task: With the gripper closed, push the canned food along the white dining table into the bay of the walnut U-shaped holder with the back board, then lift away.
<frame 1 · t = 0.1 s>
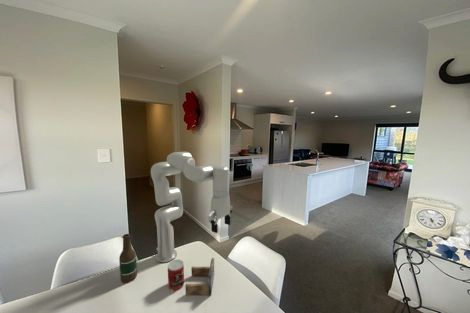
hand: (221, 227, 93), 31 cm above the table, tool pointing down, fingers open, 9 cm apart
beer bottle: (129, 278, 103), on the table
canned food: (176, 285, 98), on the table
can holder: (200, 284, 98), on the table
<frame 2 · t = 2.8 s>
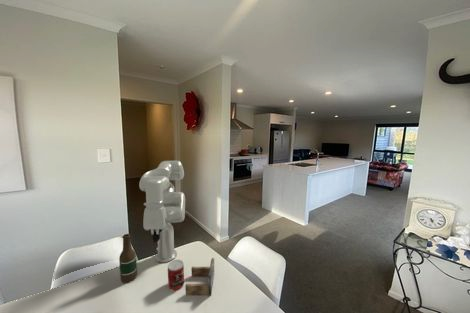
hand: (156, 241, 96), 23 cm above the table, tool pointing down, fingers closed
nothing on the table moved.
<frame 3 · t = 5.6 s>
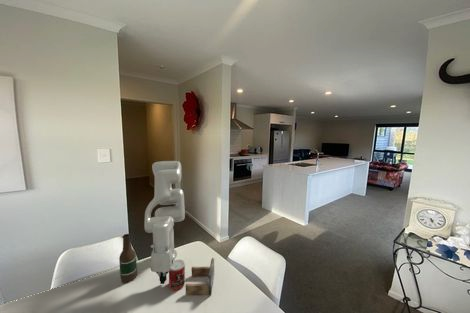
hand: (163, 281, 98), 2 cm above the table, tool pointing down, fingers closed
canned food: (177, 285, 98), on the table, touching gripper
everything else where it was.
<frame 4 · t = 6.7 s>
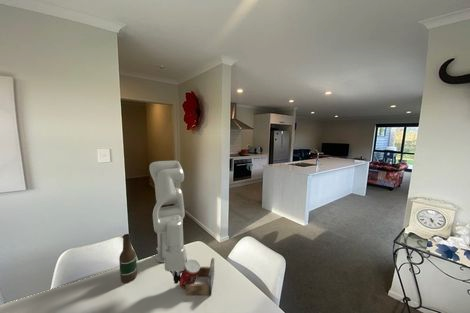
hand: (177, 281, 96), 3 cm above the table, tool pointing down, fingers closed
canned food: (186, 283, 97), point 1 cm above the table, touching gripper
everything else where it was.
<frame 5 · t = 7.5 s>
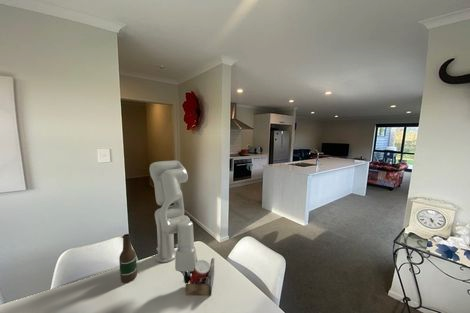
hand: (187, 281, 97), 3 cm above the table, tool pointing down, fingers closed
canned food: (196, 283, 97), point 1 cm above the table, touching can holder, gripper
everything else where it was.
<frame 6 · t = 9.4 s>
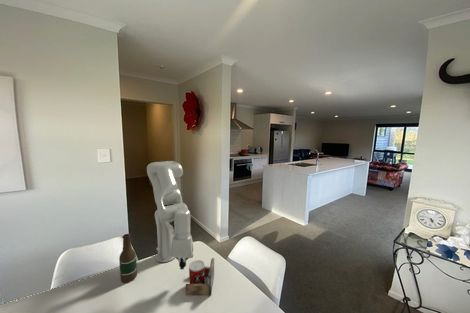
hand: (182, 267, 98), 9 cm above the table, tool pointing down, fingers closed
canned food: (197, 285, 98), on the table
everything else where it was.
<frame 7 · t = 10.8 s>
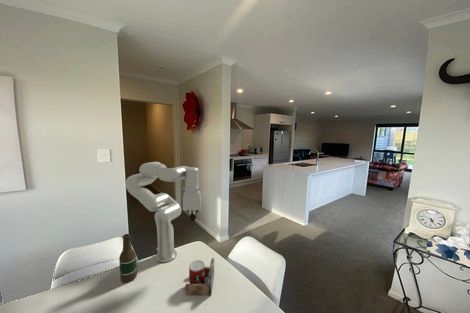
hand: (192, 220, 111), 27 cm above the table, tool pointing down, fingers closed
nothing on the table moved.
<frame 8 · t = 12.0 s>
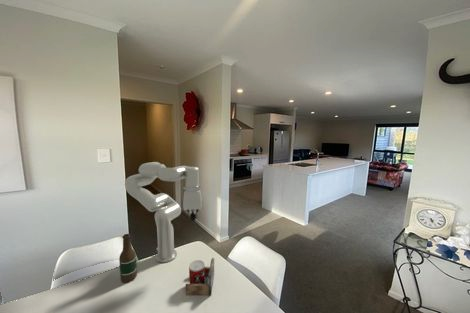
hand: (193, 219, 111), 27 cm above the table, tool pointing down, fingers closed
nothing on the table moved.
at the end: canned food 1.3 cm from the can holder (horizontally); canned food tilted 0° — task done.
